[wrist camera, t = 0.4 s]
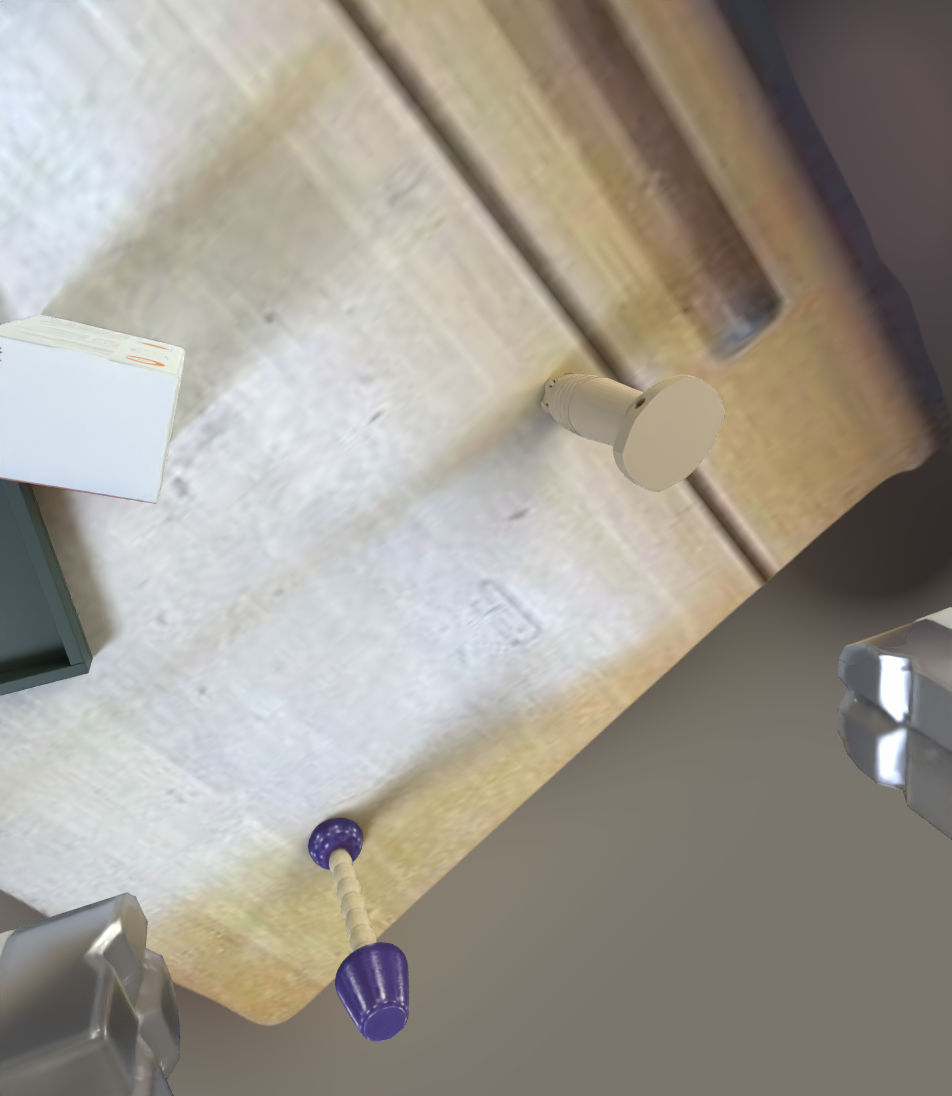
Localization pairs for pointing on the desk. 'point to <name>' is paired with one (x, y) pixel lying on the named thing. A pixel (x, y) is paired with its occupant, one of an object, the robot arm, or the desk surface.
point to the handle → (641, 422)
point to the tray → (34, 600)
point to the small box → (86, 407)
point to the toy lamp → (362, 940)
